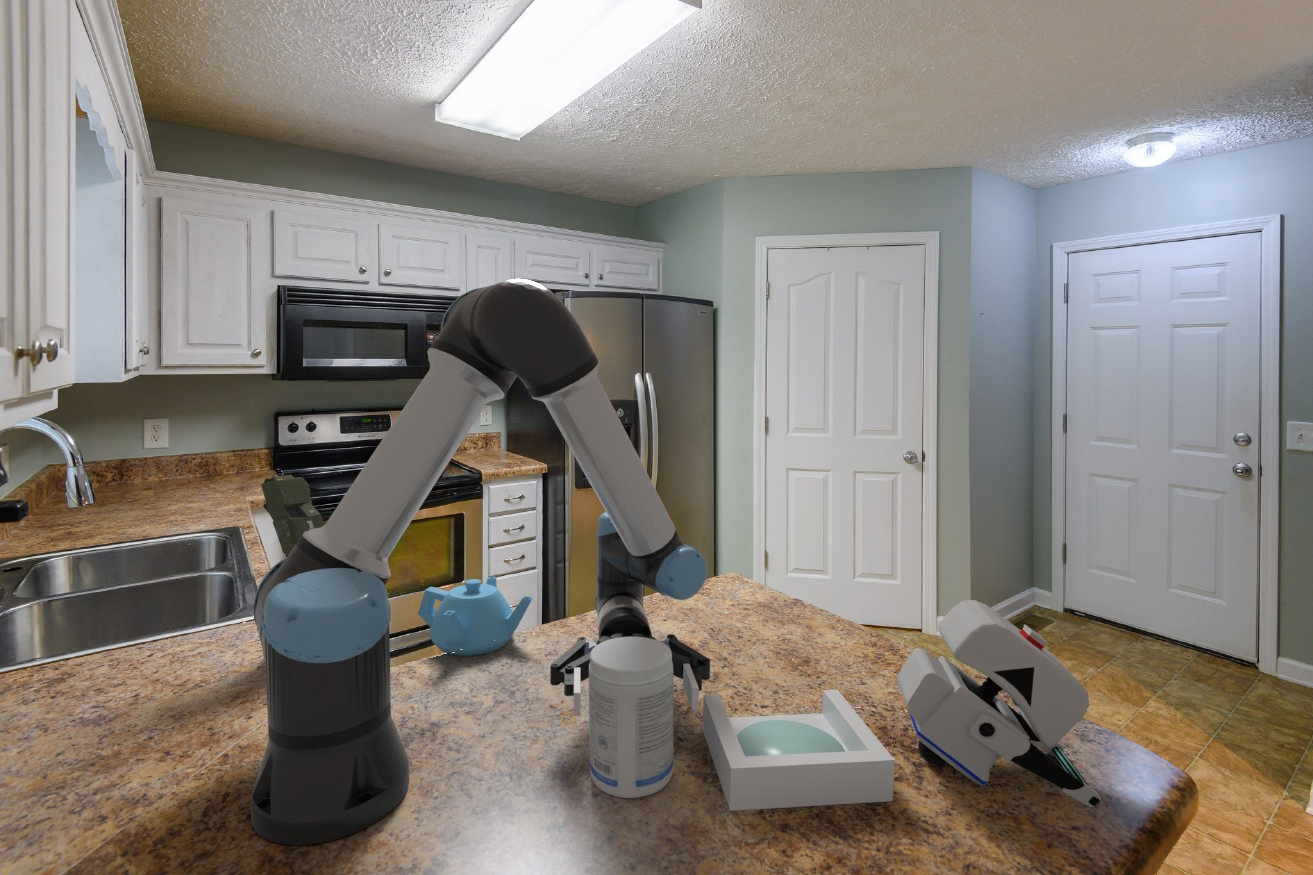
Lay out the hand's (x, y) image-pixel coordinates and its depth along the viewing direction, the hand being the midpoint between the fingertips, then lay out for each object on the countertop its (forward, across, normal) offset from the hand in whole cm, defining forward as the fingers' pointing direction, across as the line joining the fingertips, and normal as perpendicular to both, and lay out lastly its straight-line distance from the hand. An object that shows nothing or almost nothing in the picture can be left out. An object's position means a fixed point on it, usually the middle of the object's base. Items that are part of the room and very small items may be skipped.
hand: (636, 701), depth 74 cm
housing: (0, -18, -8) cm, 20 cm away
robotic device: (+3, -41, -9) cm, 42 cm away
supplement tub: (+1, +1, -9) cm, 9 cm away
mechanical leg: (-39, +52, -9) cm, 66 cm away
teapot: (-40, +24, -9) cm, 47 cm away
